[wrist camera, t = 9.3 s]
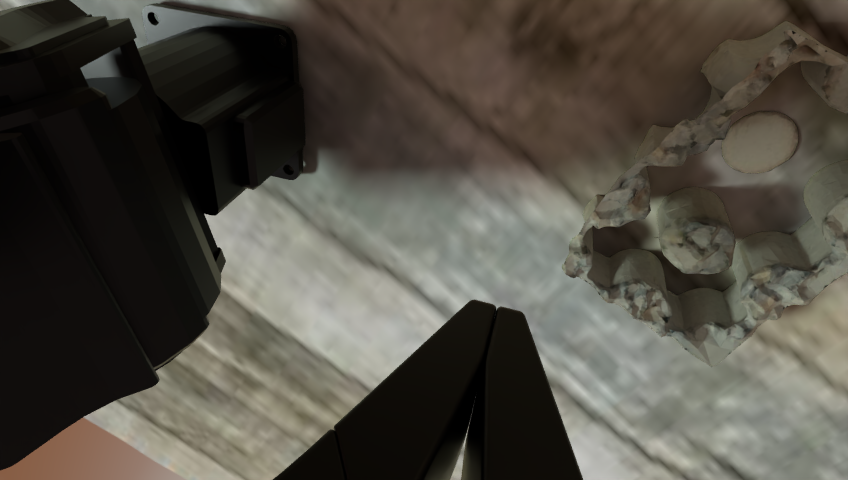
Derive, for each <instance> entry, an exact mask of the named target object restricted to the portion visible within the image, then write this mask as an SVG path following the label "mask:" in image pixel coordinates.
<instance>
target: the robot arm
mask: <svg viewBox="0 0 848 480" xmlns="http://www.w3.org/2000/svg"><path fill="white" fill-rule="evenodd" d="M154 13H155V14H156V15H157V16H158V19H159V22H158V21H157V20H156V19H155V16H154ZM142 18H143V23H144V28H145V33H146V37H147V42H148V45H146V46H143V47H141V48H138V49H137V46H136V44H135V41H134V39H135V38H136V34H135V32H134V29H133V27H132V24H131V22H130V19H129V18H126V19H116V20H107V18H106V16H99V17H92V15H91V14H90V15H87V14H86V13H85V12H84V11H82V10H81V9H80V8H79V7H77V6H76V5H75V4H74V3H72V2H71V1H70V0H46V1H41V2H37V3H33V4H28V5H24V6H19V7H15V8H11V9H7V10H3V11H0V470H3V469H6V468H8V467H11V466H13V465H14V464H16V463H18V462H19V461H20V460H22V459H23V458H25V457H26V456H27V455H29V454H30V453H31V452H33V451H34V450H36V449H37V448H39V447H40V446H42V445H43V444H44V443H46V442H47V441H48V440H50V439H51V438H53V437H54V436H56V435H57V434H58V433H60V432H61V431H62V430H64V429H66V428H67V427H68V426H70V425H72V424H73V423H75V422H76V421H78V420H79V419H81V418H83V417H84V416H86V415H88V414H90V413H92V412H94V411H96V410H98V409H100V408H102V407H103V406H105V405H107V404H109V403H111V402H113V401H115V400H117V399H120V398H123V397H125V396H128V395H131V394H134V393H137V392H140V391H142V390H145V389H148V388H151V387H153V386H155V385H156V384H157V383H158V382H159V377H158V375H157V373H156V370H158V369H159V368H161V367H163V366H164V365H166V364H167V363H169V362H170V361H172V360H173V359H174V358H175V357H176V356H178V355H179V354H180V353H181V352H182V351H183V350H185V349H186V348H188V347H189V346H190V345H191V344H192V343H193V342H194V341H195V340H196V339H197V338H198V337H199V336H200V335H201V334H202V333H203V332H204V331H205V330H206V328H207V327H208V325H209V319H208V317H207V314H208V313H209V312H210V310H211V308H212V306H213V305H214V303H215V301H216V299H217V297H218V296H219V294H220V289H221V272H222V269H223V267H224V265H225V262H226V260H225V257H224V255H223V252H222V250H221V248H219V247H217V245H216V243H215V240H214V238H213V235H212V233H211V230H210V228H209V225H208V223H207V220H206V218H205V215H204V214H208V215H217V214H218V213H219V212H220V211H221V210H223V209H224V208H225V207H226V206H227V205H228V204H229V203H230V202H232V201H233V200H234V199H235V198H236V197H237V196H238V195H240V194H241V193H242V192H243V191H244V190H245V189H246V188H248V189H252V190H254V189H256V188H257V187H258V186H260V185H261V184H262V183H263V182H264V181H265V180H266V179H267V178H268V177H269V176H275V177H279V178H283V179H288V180H294V179H296V178H297V177H298V176H299V175H300V174H301V173H302V171H303V157H302V147H303V146H304V145H305V122H304V99H303V88H302V87H301V85H300V84H299V73H298V52H297V39H296V35H295V34H294V32H293V31H292V30H291V29H290V28H289V27H286V26H283V25H278V24H272V23H266V22H261V21H255V20H249V19H244V18H238V17H232V16H226V15H221V14H215V13H209V12H204V11H198V10H192V9H187V8H181V7H175V6H169V5H164V4H158V3H156V4H150V5H147V6H145V7H144V8H143V10H142ZM279 35H281V36H283V37H284V38H285V40H286V46H284V45H282V44H281V42H280V40H279ZM288 165H290V166H291V167H292V168H293V170H294V171H292V170H290V169H289V168H288ZM475 397H476V398H475ZM472 410H473V411H472ZM471 414H472V415H471ZM470 418H471V419H470ZM469 422H470V424H469ZM468 426H469V428H468ZM467 430H468V433H467ZM466 433H467V438H466V444H465V451H464V459H463V468H462V477H461V480H583V478H582V475H581V472H580V469H579V466H578V464H577V461H576V458H575V455H574V452H573V450H572V447H571V444H570V441H569V438H568V436H567V433H566V430H565V427H564V424H563V421H562V419H561V416H560V413H559V410H558V407H557V405H556V402H555V399H554V396H553V393H552V391H551V388H550V385H549V382H548V379H547V377H546V374H545V371H544V368H543V365H542V362H541V360H540V357H539V354H538V351H537V348H536V346H535V343H534V340H533V337H532V334H531V332H530V329H529V326H528V323H527V320H526V317H525V315H524V314H523V313H522V312H521V311H517V310H514V309H510V308H506V307H499V308H497V311H496V306H495V305H493V304H490V303H486V302H482V301H478V300H471V301H469V302H468V303H467V304H466V305H465V306H464V307H463V308H462V309H461V310H459V311H458V312H457V313H456V314H455V315H454V316H453V317H452V318H451V319H450V320H449V321H447V322H446V323H445V324H444V325H443V326H442V327H441V328H440V329H439V330H438V331H437V332H436V333H434V334H433V335H432V336H431V337H430V338H429V339H428V340H427V341H426V342H425V343H424V344H423V345H421V346H420V347H419V348H418V349H417V350H416V351H415V352H414V353H413V354H412V355H411V356H410V357H408V358H407V359H406V360H405V361H404V362H403V363H402V364H401V365H400V366H399V367H398V368H397V369H395V370H394V371H393V372H392V373H391V374H390V375H389V376H388V377H387V378H386V379H385V380H383V381H382V382H381V383H380V384H379V385H378V386H377V387H376V388H375V389H374V390H373V391H372V392H370V393H369V394H368V395H367V396H366V397H365V398H364V399H363V400H362V401H361V402H360V403H359V404H357V405H356V406H355V407H354V408H353V409H352V410H351V411H350V412H349V413H348V414H347V415H346V416H344V417H343V418H342V419H341V420H340V421H339V422H338V423H337V424H336V425H335V426H334V430H332V429H331V430H329V431H328V432H327V433H326V434H325V435H323V436H322V437H321V438H320V439H319V440H318V441H317V442H316V443H315V444H314V445H313V446H312V447H310V448H309V449H308V450H307V451H306V452H305V453H304V454H302V455H301V456H300V457H299V458H298V459H297V460H295V461H294V462H293V463H292V464H291V465H290V466H289V467H287V468H286V469H285V470H284V471H283V472H282V473H280V474H279V475H278V476H277V477H275V478H274V479H273V480H450V478H451V476H452V473H453V470H454V468H455V465H456V463H457V460H458V457H459V455H460V452H461V449H462V446H463V443H464V440H465V437H466Z"/></svg>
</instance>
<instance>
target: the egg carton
mask: <svg viewBox="0 0 848 480" xmlns="http://www.w3.org/2000/svg"><path fill="white" fill-rule="evenodd" d="M799 61H801V65H800V66H801V71H802V75H803V77H804V79H805V80H806V81H807V82H808V84H809V85H810V86H811V87H812V89H813V90H815V91H816V92H817V93H818V94H819V95H820V97H821V98H822V99H823V100H824V101H825V102H826V103H827V104H828V105H829V106H830V107H832V108H834V109H836V110H838V111H841V112H843V113H848V55H847V56H844V55H842V54H840V53H838V52H836V51H834V50H832V49H830V48H828V47H826V46H824V45H822V44H821V43H819V42H818V41H817V40H815V39H814V38H812V37H811V36H810V35H808V34H807V33H806V32H805V31H803V30H801V29H800V28H798V27H797V26H795V25H794V24H792V23H790V22H788V21H785V22H783V23H781V24H780V25H778V26H777V27H775V28H774V29H772V30H770V31H769V32H767V33H766V34H764V35H762V36H760V37H757V38H754V39H750V40H743V41H738V40H732V39H728V40H725V41H724V42H722V43H721V44H720V45H718V46H717V47H716V48H715V49H714V51H713V52H712V53H711V54H710V55H709V57H708V58H707V60H706V61H705V62H704V64H703V66H702V69H701V71H700V72H702V73H704V75H705V76H706V78H707V79H708V82H709V83H710V84H711V86H712V91H711V97H710V99H709V101H708V104H707V106H706V108H705V109H704V111H703V112H702V113H701V114H700V115H699V116H698V117H697V118H696V119H694V120H693V121H690V120H688V119H684V120H683V121H682V122H680V123H679V124H678V125H676V127H670V128H669V127H659V126H657V125H652V127H651V128H650V129H649V131H648V133H647V135H646V137H645V139H644V141H643V142H642V144H641V145H640V147H639V148H638V152H637V154H636V155H635V160H636V162H637V163H636V164H634V165H633V166H632V167H631V168H630V169H629V170H627V171H626V172H625V173H624V174H623V175H621V176H620V177H619V178H618V180H617V181H616V182H615V184H614V185H613V186H612V188H611V189H610V190H609V191H608V193H607V194H606V195H605V197H604V196H600V195H596V196H595V197H594V198H593V199H592V200H591V201H590V202H589V203H588V205H587V206H586V208H585V209H584V211H583V217H584V220H585V224H584V226H583V228H582V230H581V232H580V233H579V234H578V235H577V236H576V237H574V238H572V240H571V241H570V244H569V255H568V257H567V259H566V261H565V263H564V264H563V265H562V269H563V271H564V272H565V273H566V275H568V276H570V277H572V278H575V277H576V276H577V277H580V278H582V279H583V280H585V281H586V282H588V283H589V284H590V285H592V286H593V287H594V288H595V289H596V290H597V291H598V293H599V295H600V296H601V298H602V299H604V300H605V301H606V302H607V303H615V304H617V305H619V306H621V307H622V308H623V309H624V310H626V311H627V312H628V313H629V314H630V315H631V316H632V317H633V318H634V319H637V320H639V321H641V322H643V323H644V324H646V325H647V326H648V327H649V328H651V329H652V330H653V331H655V332H656V333H657V334H658V335H659V336H660V337H663V336H670V337H672V338H673V339H675V340H676V341H677V342H678V343H679V344H680V345H681V346H682V347H683V348H684V349H685V350H687V351H688V352H689V353H691V354H692V355H694V356H695V357H697V358H698V359H700V360H701V361H703V362H705V363H706V364H708V365H709V366H711V367H713V366H716V365H718V364H719V363H720V362H721V361H723V360H724V359H725V358H726V357H727V356H728V355H729V354H730V353H731V352H732V351H733V350H735V349H736V348H737V347H738V346H739V345H741V344H742V343H743V342H744V341H746V340H747V339H748V338H750V337H751V336H752V335H753V333H754V332H755V330H756V329H757V327H758V326H760V325H761V324H762V323H764V322H765V321H767V320H777V319H778V318H780V317H781V315H782V312H783V310H784V308H786V307H788V306H790V305H808V304H809V303H810V302H811V301H812V300H813V299H814V298H815V297H816V296H817V295H818V294H819V293H820V292H821V291H822V290H823V289H824V288H825V287H826V286H828V285H829V284H830V283H832V282H833V281H834V280H836V279H837V278H839V277H841V276H842V275H844V274H846V273H848V160H843V161H839V162H836V163H833V164H831V165H828V166H826V167H824V168H822V169H821V170H819V171H818V172H816V173H815V174H814V175H813V176H812V177H811V178H810V180H809V181H808V183H807V185H806V186H805V188H804V194H803V198H804V203H805V206H806V207H807V209H808V211H809V213H810V214H811V216H812V217H811V218H810V220H808V221H807V222H806V223H805V224H804V225H802V226H801V227H800V228H799V229H798V230H797V231H795V232H794V233H793V234H790V235H789V234H784V233H781V232H775V231H765V232H758V233H754V234H751V235H749V236H747V237H746V238H744V239H743V240H741V241H740V242H739V243H738V244H737V245H736V246H735V243H736V242H735V236H734V233H733V230H732V227H731V224H730V222H729V219H728V216H727V214H726V211H725V208H724V205H723V203H722V201H721V200H720V198H719V197H718V196H717V195H716V194H714V193H713V192H711V191H709V190H707V189H703V188H698V187H689V188H683V189H681V190H678V191H675V192H673V193H671V194H670V195H668V196H667V197H666V198H665V199H664V200H663V201H662V202H661V204H660V206H659V208H658V210H657V224H658V230H659V237H654V238H659V240H660V245H661V249H662V252H663V254H664V256H665V257H666V258H667V259H668V260H669V261H670V262H671V263H672V264H673V265H674V266H675V267H677V268H678V269H679V270H680V271H681V272H683V273H687V274H695V273H699V274H714V273H719V272H722V271H724V270H727V269H728V268H729V267H730V266H731V265H732V268H733V271H734V274H735V277H736V282H735V283H734V284H733V285H731V286H730V287H729V288H728V289H727V290H725V291H723V292H720V291H718V290H714V289H709V288H697V289H693V290H689V291H686V292H684V293H682V294H680V295H676V294H673V293H672V292H670V291H668V290H667V289H666V283H665V276H664V271H663V268H662V265H661V262H660V260H659V259H658V258H657V257H656V256H655V255H654V254H653V253H651V252H649V251H646V250H643V249H626V250H622V251H620V252H618V253H616V254H614V255H613V256H611V257H605V256H604V255H602V254H600V253H598V252H596V251H594V250H593V229H592V226H595V227H596V228H597V229H600V228H602V227H604V226H613V227H621V226H623V225H625V224H627V223H629V222H631V221H633V220H637V219H645V218H646V217H647V215H648V214H649V212H650V211H651V209H650V204H649V202H650V183H649V178H648V172H647V167H646V166H649V165H653V166H660V167H664V166H681V165H683V164H684V162H685V160H686V158H687V156H688V155H695V154H698V153H701V152H704V151H707V149H708V148H709V146H710V145H711V144H712V143H713V142H714V141H715V140H722V147H721V149H722V156H723V158H724V160H725V162H726V163H727V164H728V165H729V166H730V167H731V168H733V169H735V170H738V171H740V172H743V173H761V172H766V171H770V170H772V169H773V168H775V167H777V166H779V165H780V164H782V163H784V162H785V161H787V160H789V159H790V157H791V156H792V155H793V153H794V151H795V149H796V146H797V144H798V132H797V127H796V125H795V124H794V122H793V121H792V120H791V119H790V118H789V117H787V116H786V115H784V114H781V113H778V112H769V111H766V112H755V113H753V114H750V115H747V116H744V117H742V118H741V119H739V120H738V121H737V122H735V123H734V124H733V125H732V126H731V127H730V128H729V124H730V122H731V115H733V114H734V113H736V112H737V111H739V110H741V109H743V108H744V107H746V106H747V105H748V104H750V103H751V102H752V101H753V100H754V99H756V98H757V97H758V96H759V95H760V94H761V93H762V92H763V91H764V90H765V89H766V88H767V87H768V86H769V85H770V83H771V82H772V81H773V80H774V79H775V78H776V77H777V75H779V74H780V73H781V72H782V71H784V70H785V69H786V68H788V67H789V66H791V65H793V64H795V63H797V62H799ZM728 128H729V130H728Z"/></svg>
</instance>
